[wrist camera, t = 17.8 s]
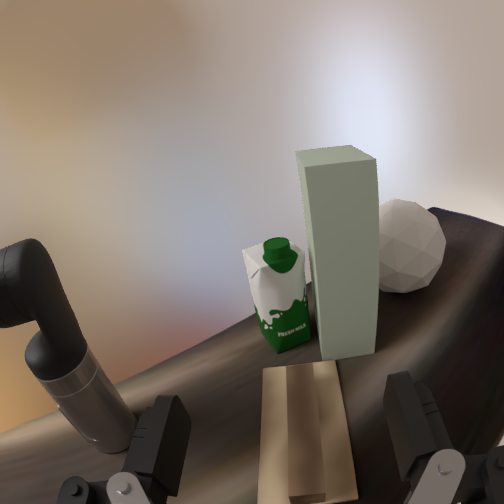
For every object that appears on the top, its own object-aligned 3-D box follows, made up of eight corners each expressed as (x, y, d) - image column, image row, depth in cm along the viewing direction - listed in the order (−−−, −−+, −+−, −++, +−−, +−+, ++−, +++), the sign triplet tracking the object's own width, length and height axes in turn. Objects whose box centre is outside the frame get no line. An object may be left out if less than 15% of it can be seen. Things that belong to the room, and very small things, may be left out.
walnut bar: (291, 505, 28) (288, 496, 26) (288, 382, 47) (285, 366, 45) (325, 502, 28) (325, 492, 26) (313, 379, 46) (312, 363, 45)
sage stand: (322, 361, 50) (304, 167, 36) (314, 315, 62) (295, 151, 48) (374, 353, 49) (376, 159, 35) (358, 308, 61) (350, 145, 47)
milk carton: (275, 359, 53) (255, 257, 44) (255, 331, 61) (234, 237, 52) (318, 339, 55) (309, 239, 47) (294, 315, 63) (281, 222, 55)
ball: (376, 313, 68) (322, 248, 67) (420, 255, 73) (374, 194, 72) (431, 317, 50) (369, 232, 49) (474, 245, 54) (423, 167, 53)
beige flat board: (258, 509, 29) (257, 508, 28) (263, 370, 51) (263, 368, 51) (357, 499, 27) (358, 498, 27) (334, 362, 50) (334, 359, 49)
